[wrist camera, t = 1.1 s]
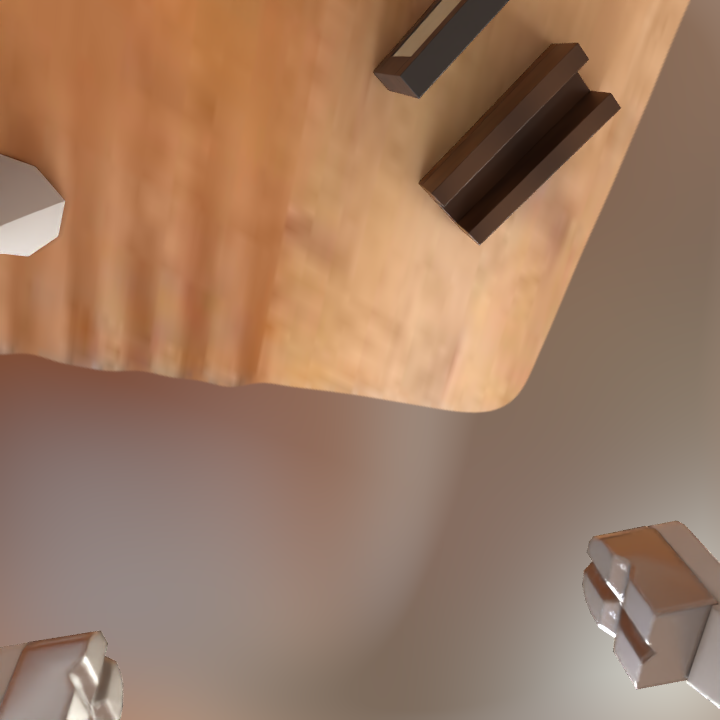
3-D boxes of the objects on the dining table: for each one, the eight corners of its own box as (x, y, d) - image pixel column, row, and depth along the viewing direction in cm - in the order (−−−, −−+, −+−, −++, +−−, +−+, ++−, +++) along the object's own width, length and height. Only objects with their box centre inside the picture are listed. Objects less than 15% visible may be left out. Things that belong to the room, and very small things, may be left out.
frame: (389, 91, 42) (419, 99, 35) (372, 72, 42) (399, 76, 34) (468, 2, 40) (519, -10, 33) (452, -19, 40) (500, -38, 32)
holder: (463, 232, 49) (479, 245, 45) (417, 183, 46) (431, 193, 42) (593, 104, 45) (621, 108, 42) (551, 43, 43) (578, 42, 39)
